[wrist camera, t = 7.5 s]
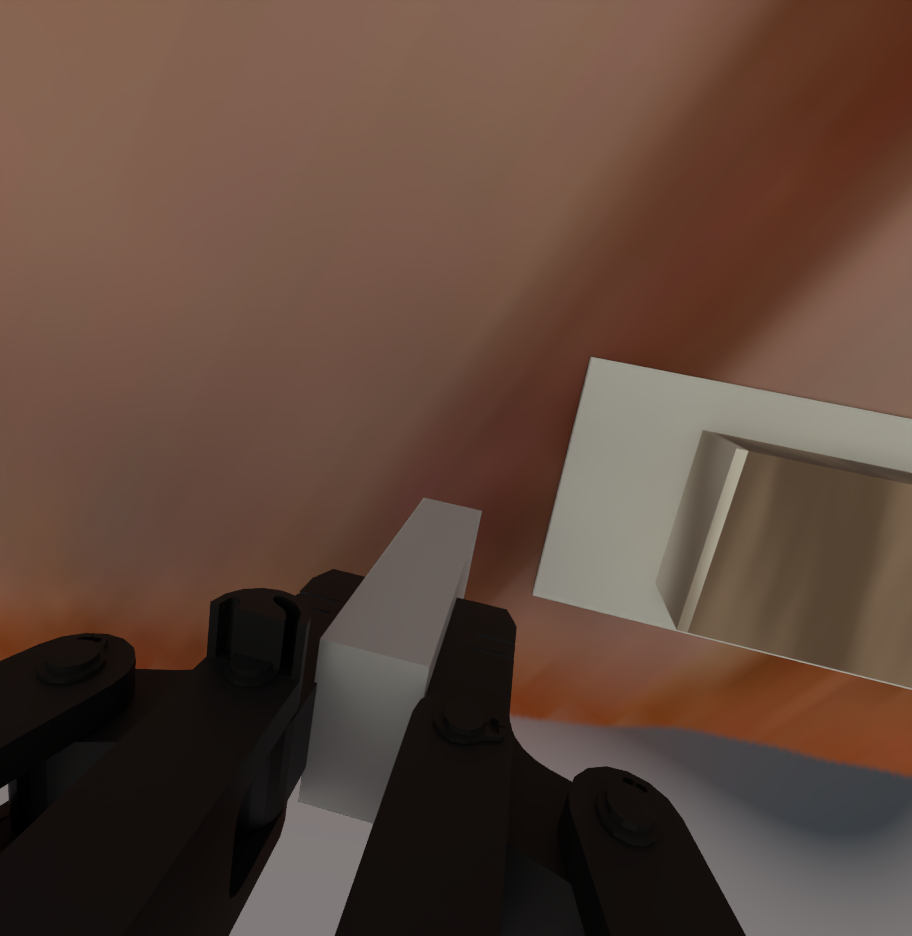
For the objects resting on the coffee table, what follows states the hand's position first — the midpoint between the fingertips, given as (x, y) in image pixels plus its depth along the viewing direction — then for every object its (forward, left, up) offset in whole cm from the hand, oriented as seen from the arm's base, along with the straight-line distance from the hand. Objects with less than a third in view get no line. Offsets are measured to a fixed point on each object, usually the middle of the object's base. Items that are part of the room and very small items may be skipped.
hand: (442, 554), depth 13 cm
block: (+8, 0, -9) cm, 12 cm away
